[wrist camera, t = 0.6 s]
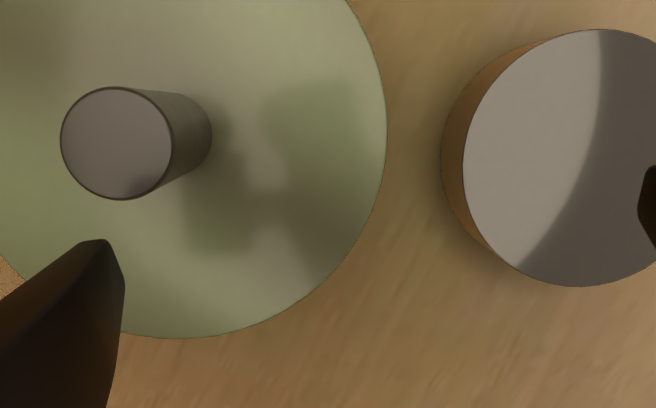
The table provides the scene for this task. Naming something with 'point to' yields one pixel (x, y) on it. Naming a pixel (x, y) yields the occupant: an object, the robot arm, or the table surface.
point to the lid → (190, 149)
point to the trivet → (557, 156)
